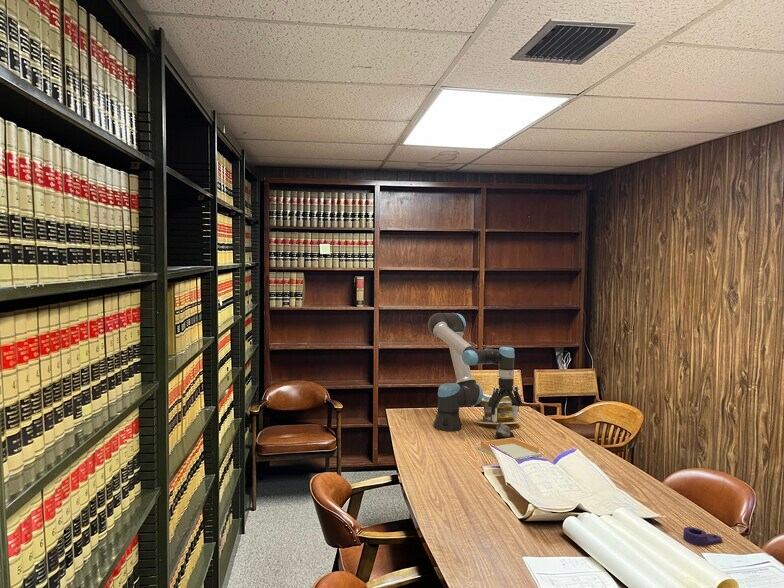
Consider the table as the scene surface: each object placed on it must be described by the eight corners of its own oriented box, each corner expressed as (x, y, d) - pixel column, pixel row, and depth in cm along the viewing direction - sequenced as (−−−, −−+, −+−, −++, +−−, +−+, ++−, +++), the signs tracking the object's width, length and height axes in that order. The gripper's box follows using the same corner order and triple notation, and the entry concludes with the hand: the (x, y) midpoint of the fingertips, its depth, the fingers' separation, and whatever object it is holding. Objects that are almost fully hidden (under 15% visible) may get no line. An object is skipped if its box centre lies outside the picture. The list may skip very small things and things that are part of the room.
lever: (693, 547, 160) (693, 537, 160) (678, 537, 166) (679, 527, 166) (727, 545, 162) (728, 535, 162) (712, 535, 168) (712, 526, 168)
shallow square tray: (477, 448, 248) (478, 441, 248) (511, 443, 258) (512, 436, 258) (506, 462, 230) (506, 453, 230) (541, 456, 241) (541, 448, 240)
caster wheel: (509, 448, 259) (490, 441, 264) (517, 438, 269) (498, 432, 274) (511, 436, 257) (492, 430, 262) (519, 427, 267) (500, 420, 272)
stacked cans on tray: (468, 419, 303) (469, 390, 303) (507, 418, 309) (508, 390, 309) (486, 431, 279) (487, 400, 279) (528, 429, 285) (529, 399, 285)
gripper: (491, 380, 256) (490, 423, 256) (529, 377, 268) (528, 419, 268) (481, 377, 263) (480, 420, 263) (519, 375, 274) (518, 415, 275)
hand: (504, 419), depth 265 cm, fingers open, 13 cm apart
